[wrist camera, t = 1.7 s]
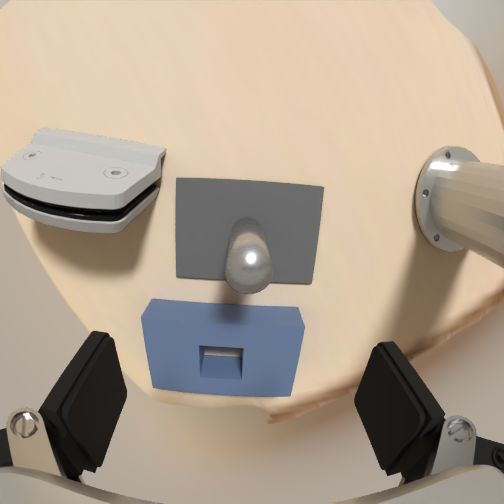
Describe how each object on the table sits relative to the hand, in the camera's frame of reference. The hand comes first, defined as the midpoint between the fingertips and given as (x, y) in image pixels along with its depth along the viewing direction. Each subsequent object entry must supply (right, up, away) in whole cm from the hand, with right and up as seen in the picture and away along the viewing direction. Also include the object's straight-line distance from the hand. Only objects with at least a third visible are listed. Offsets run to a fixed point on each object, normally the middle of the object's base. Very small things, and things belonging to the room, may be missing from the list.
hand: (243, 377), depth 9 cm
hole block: (-3, -6, +23) cm, 24 cm away
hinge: (-17, +13, +16) cm, 27 cm away
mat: (0, +6, +19) cm, 20 cm away
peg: (0, +6, +18) cm, 19 cm away
